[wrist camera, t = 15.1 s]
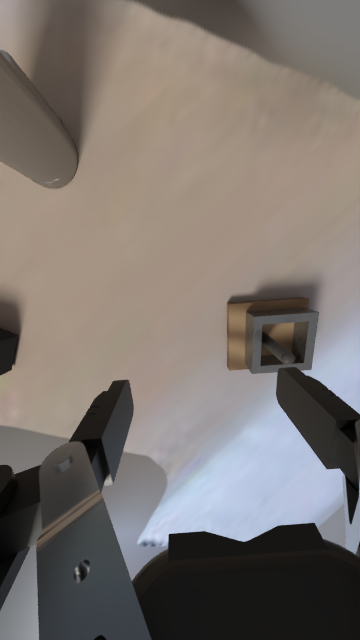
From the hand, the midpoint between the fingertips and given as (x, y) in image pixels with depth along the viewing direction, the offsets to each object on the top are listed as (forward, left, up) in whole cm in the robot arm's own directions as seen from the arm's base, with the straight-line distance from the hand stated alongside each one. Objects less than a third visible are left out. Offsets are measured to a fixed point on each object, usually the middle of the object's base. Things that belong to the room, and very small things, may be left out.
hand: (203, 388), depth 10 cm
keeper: (+8, +15, -28) cm, 32 cm away
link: (+8, +17, -26) cm, 32 cm away
